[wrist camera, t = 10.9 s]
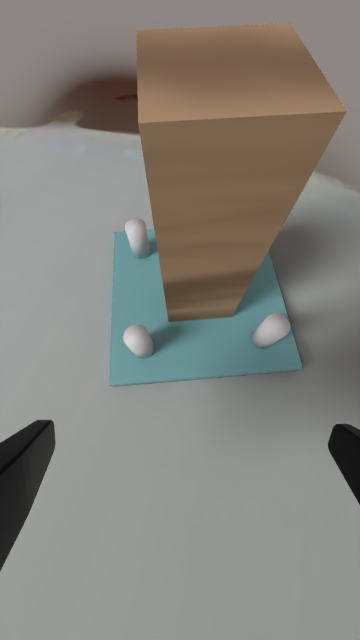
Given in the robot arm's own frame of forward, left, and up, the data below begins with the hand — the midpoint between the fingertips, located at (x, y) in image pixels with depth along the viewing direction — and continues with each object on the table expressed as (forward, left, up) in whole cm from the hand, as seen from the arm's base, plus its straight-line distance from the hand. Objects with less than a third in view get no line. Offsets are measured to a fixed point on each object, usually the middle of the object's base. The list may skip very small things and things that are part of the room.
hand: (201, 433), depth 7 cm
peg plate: (+5, -8, -9) cm, 13 cm away
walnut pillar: (+5, -8, -8) cm, 13 cm away
